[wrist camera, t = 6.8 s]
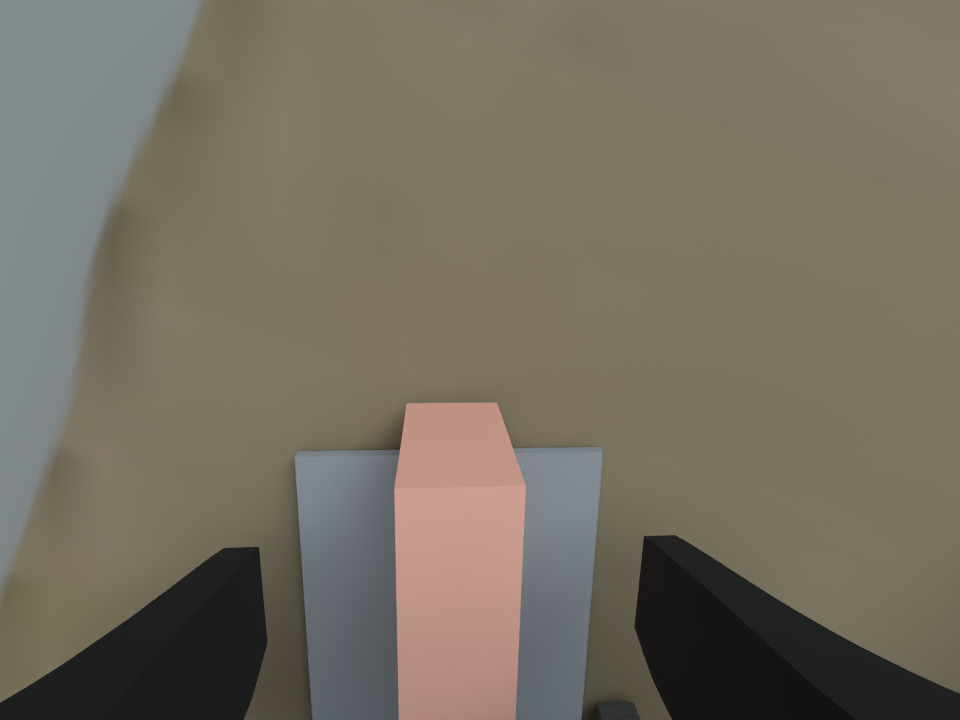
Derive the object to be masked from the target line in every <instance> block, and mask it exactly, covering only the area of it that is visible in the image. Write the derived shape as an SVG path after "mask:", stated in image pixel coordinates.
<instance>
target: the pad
mask: <svg viewBox="0 0 960 720" xmlns="http://www.w3.org/2000/svg"><path fill="white" fill-rule="evenodd" d="M513 450H514V453H515V456H516V459H517V462H518V465H519V467H520V470H521V473H522V476H523V479H524V482H525V485H526V496H525V518H524V540H523V563H522V585H521V608H520V630H519V653H518V675H517V697H516V720H582V708H583V695H584V683H585V670H586V658H587V645H588V633H589V620H590V608H591V595H592V583H593V570H594V558H595V545H596V533H597V520H598V508H599V495H600V483H601V470H602V458H603V452H602V450H601V449H600V447H563V448H513ZM399 453H400V450H351V451H298V452H297V453H296V455H295V470H296V485H297V500H298V515H299V529H300V544H301V559H302V574H303V589H304V604H305V619H306V633H307V648H308V663H309V678H310V693H311V708H312V720H399V705H398V653H397V601H396V549H395V498H394V487H395V481H396V474H397V467H398V460H399Z"/></svg>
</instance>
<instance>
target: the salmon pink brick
mask: <svg viewBox="0 0 960 720" xmlns="http://www.w3.org/2000/svg"><path fill="white" fill-rule="evenodd" d="M525 496H526V485H525V482H524V479H523V476H522V473H521V470H520V467H519V465H518V462H517V459H516V456H515V453H514V450H513V447H512V444H511V441H510V439H509V436H508V433H507V430H506V427H505V424H504V421H503V418H502V415H501V413H500V410H499V407H498V404H497V403H407V405H406V412H405V419H404V426H403V433H402V439H401V446H400V453H399V460H398V467H397V474H396V481H395V487H394V498H395V549H396V601H397V653H398V705H399V720H516V697H517V675H518V653H519V630H520V608H521V585H522V563H523V540H524V518H525Z"/></svg>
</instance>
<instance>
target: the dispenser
mask: <svg viewBox="0 0 960 720" xmlns="http://www.w3.org/2000/svg"><path fill="white" fill-rule="evenodd" d="M596 720H640V717H639V715H638V713H637V710H636V708H635V705H634V703H633V702H616V703H598V704H597V711H596Z"/></svg>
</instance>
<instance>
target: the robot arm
mask: <svg viewBox="0 0 960 720" xmlns="http://www.w3.org/2000/svg"><path fill="white" fill-rule="evenodd" d="M635 630H636V633H637V636H638V639H639V642H640V645H641V648H642V651H643V654H644V657H645V659H646V662H647V665H648V668H649V670H650V673H651V676H652V679H653V681H654V683H655V685H656V687H657V690H658V692H659V694H660V696H661V698H662V700H663V702H664V704H665V706H666V708H667V710H668V712H669V714H670V716H671V718H672V720H960V694H959V693H957V692H954V691H952V690H950V689H947V688H945V687H943V686H940V685H938V684H936V683H934V682H932V681H929V680H927V679H925V678H923V677H921V676H919V675H916V674H914V673H912V672H910V671H908V670H906V669H904V668H902V667H900V666H898V665H896V664H894V663H892V662H890V661H888V660H886V659H884V658H882V657H880V656H878V655H876V654H874V653H872V652H870V651H868V650H866V649H864V648H862V647H860V646H858V645H856V644H854V643H852V642H850V641H849V640H847V639H845V638H843V637H841V636H839V635H837V634H836V633H834V632H832V631H830V630H829V629H827V628H825V627H823V626H822V625H820V624H818V623H816V622H815V621H813V620H811V619H809V618H808V617H806V616H804V615H802V614H801V613H799V612H797V611H796V610H794V609H792V608H791V607H789V606H787V605H786V604H784V603H782V602H781V601H779V600H778V599H776V598H774V597H773V596H771V595H769V594H768V593H766V592H765V591H763V590H761V589H760V588H758V587H757V586H755V585H754V584H752V583H750V582H749V581H747V580H746V579H744V578H743V577H741V576H740V575H738V574H736V573H735V572H733V571H732V570H730V569H729V568H727V567H726V566H724V565H723V564H721V563H720V562H718V561H716V560H715V559H713V558H712V557H710V556H709V555H707V554H706V553H704V552H702V551H701V550H699V549H698V548H696V547H694V546H693V545H691V544H689V543H688V542H686V541H684V540H683V539H681V538H679V537H677V536H675V535H670V536H644V542H643V551H642V561H641V571H640V580H639V590H638V600H637V609H636V619H635ZM266 646H267V634H266V623H265V611H264V600H263V589H262V577H261V566H260V555H259V547H243V548H224V549H222V550H221V551H219V552H218V553H216V554H215V555H213V556H212V557H210V558H209V559H208V560H206V561H205V562H204V563H202V564H201V565H200V566H198V567H197V568H196V569H194V570H193V571H192V572H190V573H189V574H188V575H187V576H185V577H184V578H183V579H181V580H180V581H179V582H177V583H176V584H175V585H173V586H172V587H171V588H169V589H168V590H167V591H165V592H164V593H163V594H161V595H160V596H159V597H157V598H156V599H155V600H153V601H152V602H151V603H149V604H148V605H147V606H145V607H144V608H143V609H141V610H140V611H139V612H137V613H136V614H135V615H133V616H132V617H131V618H129V619H128V620H126V621H125V622H123V623H122V624H121V625H119V626H118V627H116V628H115V629H113V630H112V631H110V632H109V633H108V634H106V635H105V636H103V637H102V638H100V639H99V640H97V641H96V642H95V643H93V644H92V645H90V646H89V647H87V648H86V649H84V650H83V651H82V652H80V653H79V654H77V655H76V656H74V657H73V658H71V659H70V660H69V661H67V662H66V663H64V664H62V665H61V666H59V667H58V668H56V669H55V670H53V671H52V672H50V673H49V674H47V675H45V676H44V677H42V678H41V679H39V680H37V681H36V682H34V683H33V684H31V685H29V686H28V687H26V688H24V689H23V690H21V691H19V692H18V693H16V694H14V695H13V696H11V697H9V698H8V699H6V700H4V701H3V702H1V703H0V720H244V717H245V715H246V712H247V710H248V707H249V704H250V702H251V699H252V696H253V692H254V689H255V685H256V682H257V679H258V675H259V672H260V668H261V664H262V660H263V657H264V653H265V649H266Z"/></svg>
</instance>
